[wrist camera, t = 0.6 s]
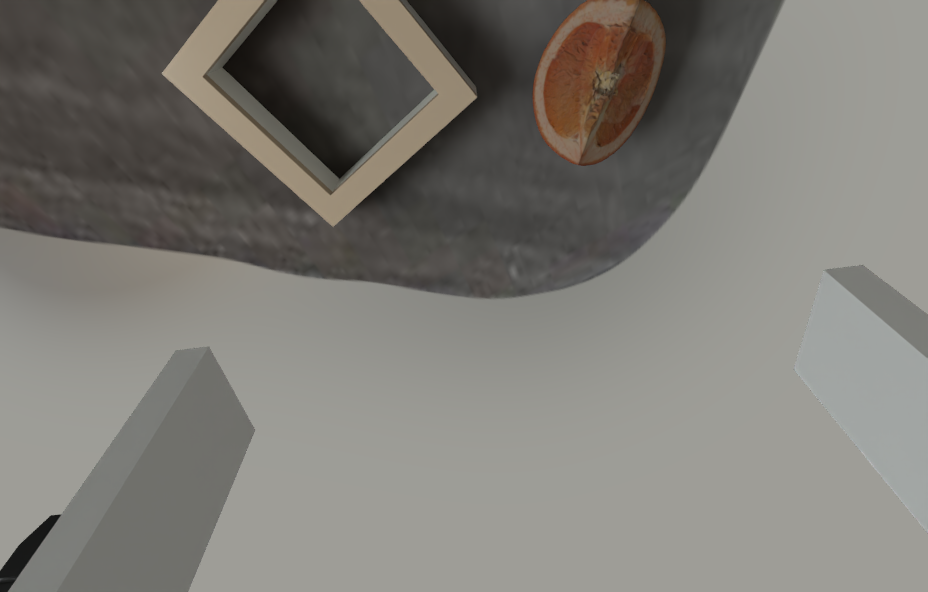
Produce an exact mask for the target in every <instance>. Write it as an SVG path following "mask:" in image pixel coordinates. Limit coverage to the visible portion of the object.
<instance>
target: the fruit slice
mask: <svg viewBox="0 0 928 592" xmlns="http://www.w3.org/2000/svg"><path fill="white" fill-rule="evenodd" d="M665 47H666V36H665V32H664V27H663V24H662V22H661V19H660V17H659V15H658V14H657V12H656V10H655V9H654V8H653V7H651V5H650V4H649V3H648V2H646V1H644V0H587V1H586V2H585V3H583V4H581V5H580V6H579V7H578V8H577V9H576V10H575V11H573V12H572V13H571V14H570V15H569V16H568V17H567V18H566V19H565V20H564V22H563V23H562V24H561V25H560V26H559V28H558V29H557V30H556V32H555V33H554V35H553V36H552V38H551V40H550V42H549V43H548V45H547V47H546V48H545V50H544V52H543V55H542V57H541V60H540V62H539V65H538V68H537V71H536V75H535V79H534V84H533V107H534V113H535V118H536V122H537V126H538V129H539V131H540V133H541V136H542V137H543V139H544V140H545V142H546V143H547V145H548V146H550V147H551V149H552V150H553V151H555V152H556V153H557V154H558V155H559V156H561V157H562V158H564V159H566V160H568V161H569V162H571V163H573V164H577V165H581V166H585V165H593V164H597V163H599V162H601V161H603V160H605V159H606V158H608V157H609V156H611V155H612V154H614V153H615V152H616V151H617V150H618V149H619V148H620V147H621V146H622V145H623V144H624V143H625V142H626V141H627V139H628V138H629V137H630V136H631V134H632V133H633V131H634V130H635V128H636V127H637V125H638V123H639V122H640V120H641V119H642V117H643V115H644V113H645V111H646V109H647V107H648V104H649V102H650V100H651V98H652V95H653V92H654V90H655V87H656V84H657V81H658V78H659V75H660V71H661V67H662V64H663V60H664V54H665Z"/></svg>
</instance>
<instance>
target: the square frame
mask: <svg viewBox="0 0 928 592" xmlns="http://www.w3.org/2000/svg"><path fill="white" fill-rule="evenodd" d="M277 1H278V0H218V1H217V3H216V4H215V5H214V7H213V8H212V9H211V10H210V12H209V13H208V14H207V16H206V17H205V18H204V19H203V21H202V22H201V23H200V25H199V26H198V27H197V29H196V30H195V31H194V32H193V34H192V35H191V36H190V38H189V39H188V40H187V42H186V43H185V44H184V45H183V47H182V48H181V49H180V51H179V52H178V53H177V55H176V56H175V57H174V58H173V60H172V61H171V62H170V64H169V65H168V66H167V68H166V69H165V70H164V71H163V73H162V74H163V75H164V76H165V77H166V78H167V79H168V80H169V81H170V82H171V83H173V84H174V85H175V86H176V87H177V88H178V89H179V90H180V91H182V92H183V93H184V94H185V95H186V96H187V97H188V98H189V99H191V100H192V101H193V102H194V103H195V104H196V105H197V106H198V107H199V108H201V109H202V110H203V111H204V112H205V113H206V114H207V115H208V116H210V117H211V118H212V119H213V120H214V121H215V122H216V123H217V124H218V125H220V126H221V127H222V128H223V129H224V130H225V131H226V132H227V133H229V134H230V135H231V136H232V137H233V138H234V139H235V140H236V141H237V142H239V143H240V144H241V145H242V146H243V147H244V148H245V149H246V150H248V151H249V152H250V153H251V154H252V155H253V156H254V157H255V158H256V159H258V160H259V161H260V162H261V163H262V164H263V165H264V166H265V167H267V168H268V169H269V170H270V171H271V172H272V173H273V174H274V175H276V176H277V177H278V178H279V179H280V180H281V181H282V182H283V183H284V184H286V185H287V186H288V187H289V188H290V189H291V190H292V191H293V192H295V193H296V194H297V195H298V196H299V197H300V198H301V199H302V200H303V201H305V202H306V203H307V204H308V205H309V206H310V207H311V208H312V209H314V210H315V211H316V212H317V213H318V214H319V215H320V216H321V217H322V218H324V219H325V220H326V221H327V222H328V223H329V224H330V225H331V226H334V225H336V224H337V223H338V222H339V221H340V220H341V219H342V218H343V217H345V216H346V215H347V214H348V213H349V212H350V211H351V210H352V209H353V208H355V207H356V206H357V205H358V204H359V203H360V202H361V201H362V200H363V199H365V198H366V197H367V196H368V195H369V194H370V193H371V192H372V191H373V190H375V189H376V188H377V187H378V186H379V185H380V184H381V183H382V182H384V181H385V180H386V179H387V178H388V177H389V176H390V175H391V174H392V173H394V172H395V171H396V170H397V169H398V168H399V167H400V166H401V165H402V164H404V163H405V162H406V161H407V160H408V159H409V158H410V157H411V156H412V155H414V154H415V153H416V152H417V151H418V150H419V149H420V148H421V147H422V146H424V145H425V144H426V143H427V142H428V141H429V140H430V139H431V138H433V137H434V136H435V135H436V134H437V133H438V132H439V131H440V130H441V129H443V128H444V127H445V126H446V125H447V124H448V123H449V122H450V121H451V120H453V119H454V118H455V117H456V116H457V115H458V114H459V113H460V112H461V111H463V110H464V109H465V108H466V107H467V106H468V105H469V104H470V103H471V102H473V101H474V100H475V99H476V98H477V91H476V86H475V85H474V84H473V82H472V81H471V80H470V79H469V77H468V76H467V75H466V74H465V72H464V71H463V70H462V69H461V67H460V66H459V65H458V64H457V62H456V61H455V60H454V59H453V57H452V56H451V55H450V54H449V52H448V51H447V50H446V49H445V47H444V46H443V45H442V44H441V43H440V41H439V40H438V39H437V38H436V36H435V35H434V34H433V33H432V31H431V30H430V29H429V28H428V26H427V25H426V24H425V23H424V21H423V20H422V19H421V18H420V16H419V15H418V14H417V13H416V11H415V10H414V9H413V8H412V6H411V5H410V4H409V3H408V1H407V0H359V1H360V2H361V3H362V4H363V6H364V7H365V8H366V9H367V10H368V11H369V13H370V14H371V15H372V16H373V17H374V18H375V20H376V21H377V22H378V23H379V24H380V26H381V27H382V28H383V29H384V30H385V31H386V33H387V34H388V35H389V36H390V37H391V39H392V40H393V41H394V42H395V43H396V44H397V46H398V47H399V48H400V49H401V50H402V51H403V53H404V54H405V55H406V56H407V57H408V59H409V60H410V61H411V62H412V63H413V64H414V66H415V67H416V68H417V69H418V70H419V72H420V73H421V74H422V75H423V76H424V77H425V79H426V80H427V81H428V82H429V83H430V84H431V86H432V87H433V88H434V90H433V91H432V92H431V93H430V94H429V95H428V96H427V97H426V98H425V99H424V100H423V101H422V102H421V103H419V104H418V105H417V106H416V107H415V108H414V109H413V110H412V111H411V112H410V113H409V114H408V115H407V116H406V117H405V118H404V119H403V120H401V121H400V122H399V123H398V124H397V125H396V126H395V127H394V128H393V129H392V130H391V131H390V132H389V133H388V134H387V135H386V136H384V137H383V138H382V139H381V140H380V141H379V142H378V143H377V144H376V145H375V146H374V147H373V148H372V149H371V150H370V151H369V152H367V153H366V154H365V155H364V156H363V157H362V158H361V159H360V160H359V161H358V162H357V163H356V164H355V165H354V166H353V167H352V168H351V169H349V170H348V171H347V172H346V173H345V174H344V175H343V176H342V177H341V178H340V179H339V178H338V177H337V176H336V175H335V174H334V173H333V172H332V171H330V170H329V169H328V168H327V167H326V166H325V165H324V164H323V163H322V162H321V161H320V160H319V159H318V158H317V157H316V156H315V155H314V154H313V153H312V152H311V151H310V150H308V149H307V148H306V147H305V146H304V145H303V144H302V143H301V142H300V141H299V140H298V139H297V138H296V137H295V136H294V135H293V134H292V133H291V132H290V131H289V130H288V129H286V128H285V127H284V126H283V125H282V124H281V123H280V122H279V121H278V120H277V119H276V118H275V117H274V116H273V115H272V114H271V113H270V112H269V111H268V110H267V109H265V108H264V107H263V106H262V105H261V104H260V103H259V102H258V101H257V100H256V99H255V98H254V97H253V96H252V95H251V94H250V93H249V92H248V91H247V90H246V89H245V88H243V87H242V86H241V85H240V84H239V83H238V82H237V81H236V80H235V79H234V78H233V77H232V76H231V75H230V74H229V73H228V72H227V71H226V70H225V69H224V68H223V66H224V65H225V64H226V62H227V61H228V60H229V59H230V58H231V56H232V55H233V54H234V53H235V51H236V50H237V49H238V48H239V47H240V45H241V44H242V43H243V42H244V41H245V39H246V38H247V37H248V36H249V35H250V33H251V32H252V31H253V30H254V28H255V27H256V26H257V25H258V24H259V22H260V21H261V20H262V19H263V18H264V16H265V15H266V14H267V13H268V12H269V10H270V9H271V8H272V7H273V5H274V4H275V3H276V2H277Z"/></svg>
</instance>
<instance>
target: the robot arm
mask: <svg viewBox="0 0 928 592" xmlns="http://www.w3.org/2000/svg"><path fill="white" fill-rule="evenodd" d="M794 370H795V372H796V373H797V374H798V375H799V377H800V378H801V379H802V380H803V381H804V383H805V384H806V385H807V386H808V387H809V389H810V390H811V391H812V392H813V394H814V395H815V396H816V397H817V398H818V400H819V401H820V402H821V403H822V405H823V406H824V407H825V408H826V410H827V411H828V412H829V413H830V414H831V416H832V417H833V418H834V419H835V421H836V422H837V423H838V424H839V425H840V427H841V428H842V429H843V430H844V432H845V433H846V434H847V435H848V437H849V438H850V439H851V440H852V441H853V443H854V444H855V445H856V446H857V447H858V449H859V450H860V451H861V452H862V454H863V455H864V456H865V457H866V459H867V460H868V461H869V462H870V463H871V465H872V466H873V467H874V468H875V470H876V471H877V472H878V473H879V475H880V476H881V477H882V478H883V479H884V481H885V482H886V483H887V484H888V485H889V487H890V488H891V489H892V490H893V492H894V493H895V494H896V495H897V496H898V498H899V499H900V500H901V501H902V503H903V504H904V505H905V506H906V507H907V509H908V510H909V511H910V512H911V514H912V515H913V516H914V517H915V519H916V520H917V521H918V522H919V523H920V525H921V526H922V527H923V528H924V529H925V531H926V532H927V533H928V314H926V313H925V312H924V311H922V310H921V309H920V308H918V307H917V306H916V305H915V304H913V303H912V302H911V301H909V300H908V299H907V298H905V297H904V296H903V295H901V294H900V293H899V292H897V291H896V290H895V289H893V288H892V287H891V286H890V285H888V284H887V283H886V282H884V281H883V280H882V279H880V278H879V277H878V276H877V275H875V274H874V273H873V272H871V271H870V270H869V269H867V268H866V267H865V266H863V265H859V266H851V267H843V268H836V269H827V270H824V271H823V274H822V278H821V281H820V284H819V287H818V291H817V294H816V297H815V301H814V304H813V307H812V311H811V314H810V317H809V320H808V323H807V327H806V330H805V334H804V337H803V340H802V343H801V347H800V350H799V353H798V356H797V360H796V363H795V366H794ZM254 432H255V429H254V427H253V425H252V423H251V422H250V420H249V418H248V416H247V414H246V413H245V411H244V409H243V407H242V405H241V403H240V402H239V400H238V398H237V396H236V395H235V393H234V391H233V389H232V387H231V386H230V384H229V382H228V380H227V378H226V377H225V375H224V373H223V371H222V369H221V367H220V366H219V364H218V362H217V360H216V358H215V357H214V355H213V353H212V351H211V349H210V348H209V347H202V348H194V349H185V350H177V351H175V353H174V354H173V356H172V357H171V359H170V360H169V361H168V363H167V364H166V366H165V367H164V368H163V370H162V372H161V373H160V374H159V376H158V377H157V379H156V380H155V381H154V383H153V384H152V386H151V387H150V389H149V390H148V391H147V393H146V394H145V396H144V397H143V399H142V400H141V401H140V403H139V404H138V406H137V407H136V409H135V410H134V411H133V413H132V414H131V416H130V417H129V419H128V420H127V421H126V423H125V425H124V426H123V427H122V429H121V430H120V432H119V433H118V434H117V436H116V437H115V439H114V440H113V442H112V443H111V444H110V446H109V447H108V449H107V450H106V452H105V453H104V455H103V456H102V457H101V459H100V460H99V462H98V463H97V465H96V466H95V467H94V469H93V470H92V472H91V473H90V475H89V476H88V477H87V479H86V480H85V482H84V483H83V485H82V486H81V487H80V489H79V490H78V492H77V493H76V495H75V496H74V497H73V499H72V500H71V502H70V503H69V505H68V506H67V508H66V509H65V511H64V512H63V514H61V515H51V516H50V517H49V518H48V519H47V520H46V521H45V522H43V523H42V524H41V525H40V526H39V527H38V528H37V529H36V530H35V531H34V532H33V533H32V534H31V535H29V536H28V537H27V538H26V539H25V540H24V541H23V542H22V543H21V544H20V545H19V546H18V548H17V549H16V550H15V551H14V553H13V554H12V555H11V557H10V558H9V560H8V561H7V562H6V564H5V565H4V566H3V568H2V569H1V571H0V592H188V590H189V588H190V586H191V583H192V581H193V578H194V576H195V574H196V571H197V569H198V566H199V564H200V562H201V559H202V557H203V554H204V552H205V550H206V547H207V545H208V542H209V540H210V538H211V535H212V533H213V530H214V528H215V526H216V523H217V521H218V518H219V515H220V513H221V511H222V509H223V506H224V504H225V501H226V499H227V497H228V494H229V491H230V489H231V487H232V485H233V482H234V480H235V477H236V475H237V473H238V470H239V468H240V465H241V463H242V461H243V458H244V456H245V453H246V451H247V448H248V446H249V444H250V441H251V439H252V436H253V434H254Z"/></svg>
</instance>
